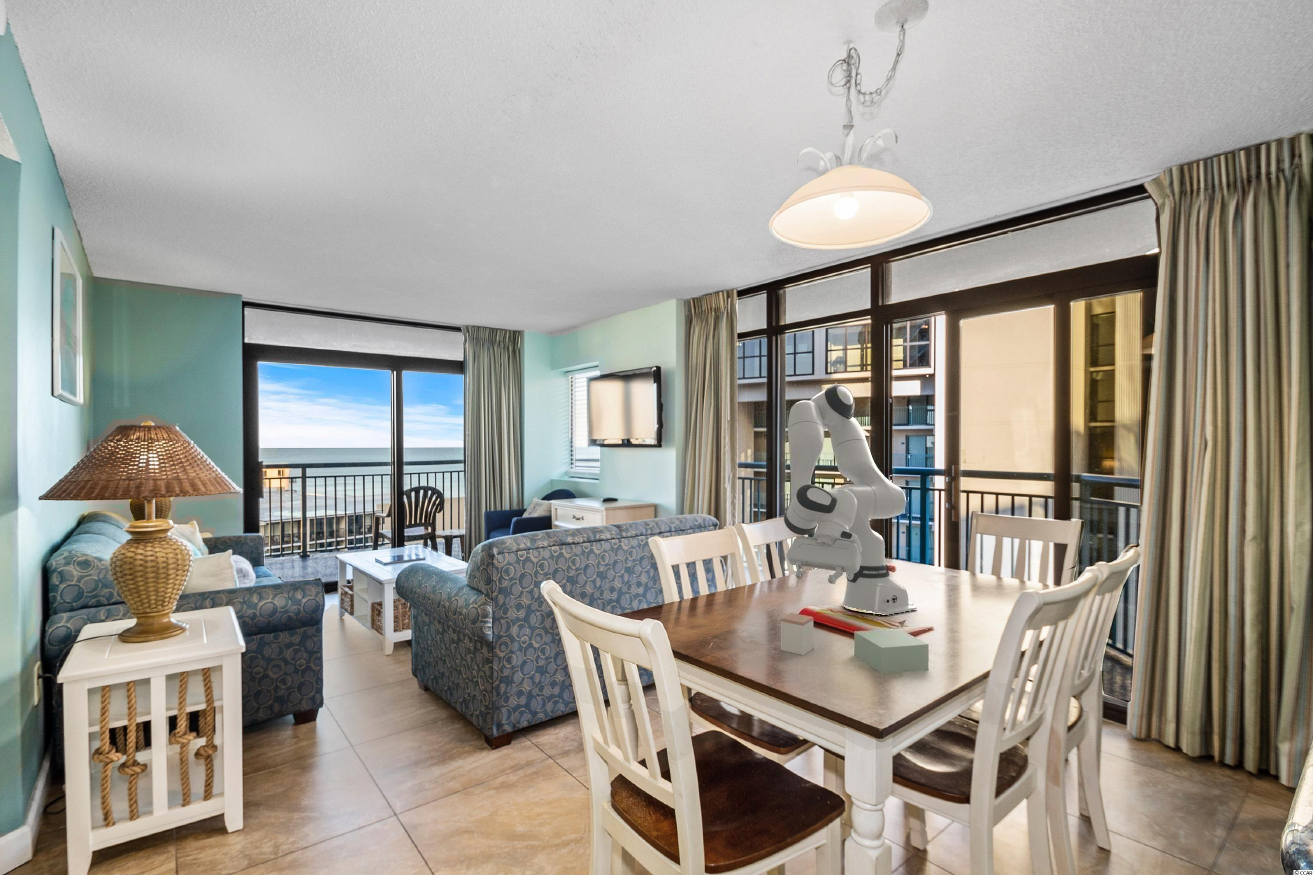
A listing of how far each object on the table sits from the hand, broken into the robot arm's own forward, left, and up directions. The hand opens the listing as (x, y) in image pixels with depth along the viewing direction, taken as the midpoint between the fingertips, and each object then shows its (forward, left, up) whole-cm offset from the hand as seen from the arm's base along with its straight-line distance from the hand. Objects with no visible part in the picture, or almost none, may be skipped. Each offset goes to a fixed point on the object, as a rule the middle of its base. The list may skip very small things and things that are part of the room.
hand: (814, 579), depth 167 cm
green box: (-7, +22, -15) cm, 28 cm away
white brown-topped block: (+10, +8, -15) cm, 20 cm away
